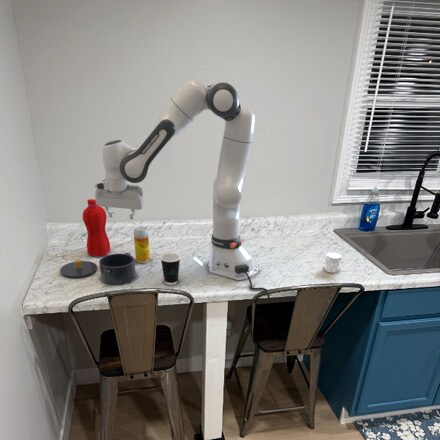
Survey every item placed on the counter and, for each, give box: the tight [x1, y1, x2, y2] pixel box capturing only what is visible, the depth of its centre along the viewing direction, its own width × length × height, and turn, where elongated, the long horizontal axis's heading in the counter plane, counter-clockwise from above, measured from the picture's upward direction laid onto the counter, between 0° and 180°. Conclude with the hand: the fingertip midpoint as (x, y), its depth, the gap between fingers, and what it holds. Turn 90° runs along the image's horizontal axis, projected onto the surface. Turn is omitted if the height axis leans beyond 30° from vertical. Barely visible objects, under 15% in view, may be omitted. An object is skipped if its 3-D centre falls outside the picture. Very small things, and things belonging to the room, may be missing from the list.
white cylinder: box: [324, 251, 343, 273], centre depth 175 cm, size 7×7×7 cm
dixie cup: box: [159, 252, 181, 286], centre depth 159 cm, size 8×8×11 cm
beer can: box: [133, 226, 151, 264], centre depth 175 cm, size 6×6×15 cm
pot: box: [98, 252, 137, 286], centre depth 163 cm, size 14×19×8 cm
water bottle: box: [82, 198, 111, 258], centre depth 179 cm, size 9×11×25 cm
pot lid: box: [59, 258, 98, 278], centre depth 167 cm, size 15×15×5 cm
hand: (122, 217), depth 166 cm, fingers open, 8 cm apart
